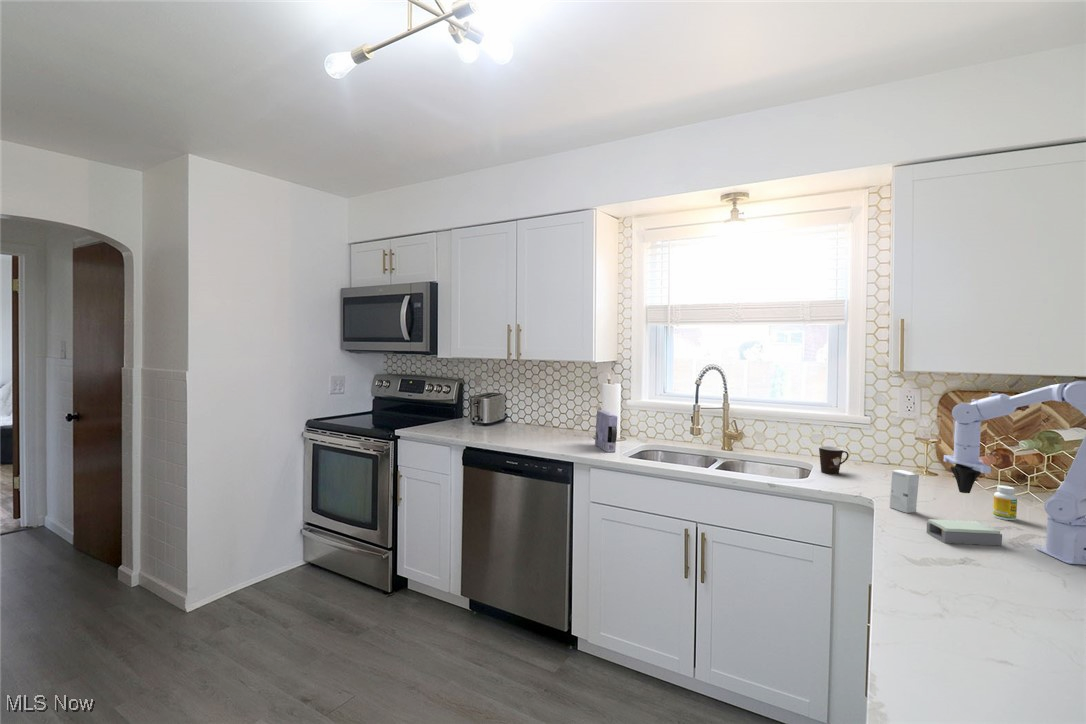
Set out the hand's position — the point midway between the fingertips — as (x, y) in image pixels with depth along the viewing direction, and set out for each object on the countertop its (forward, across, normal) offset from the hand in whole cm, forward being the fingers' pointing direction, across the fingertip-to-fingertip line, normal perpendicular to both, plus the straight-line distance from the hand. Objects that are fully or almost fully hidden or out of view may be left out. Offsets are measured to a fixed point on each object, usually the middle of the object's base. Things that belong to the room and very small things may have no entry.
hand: (964, 492), depth 149 cm
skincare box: (+11, +16, +6) cm, 20 cm away
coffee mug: (+11, +64, +2) cm, 65 cm away
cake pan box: (+11, +102, +92) cm, 138 cm away
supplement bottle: (+11, +11, -21) cm, 26 cm away
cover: (+7, -8, +7) cm, 13 cm away
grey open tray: (+10, -9, +7) cm, 15 cm away
